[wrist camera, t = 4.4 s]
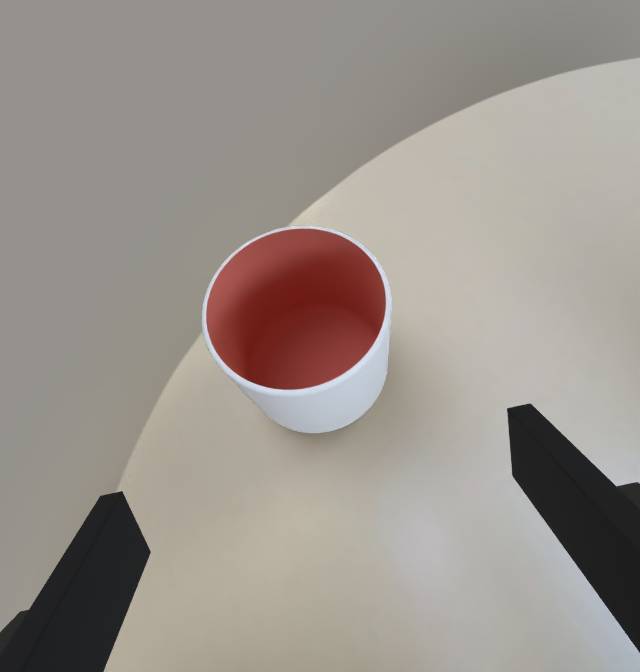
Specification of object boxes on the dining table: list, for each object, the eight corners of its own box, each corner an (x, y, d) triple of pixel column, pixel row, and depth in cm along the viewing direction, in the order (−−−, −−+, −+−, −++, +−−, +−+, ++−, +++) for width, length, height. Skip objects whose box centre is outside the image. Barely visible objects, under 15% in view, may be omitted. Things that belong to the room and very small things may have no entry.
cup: (245, 438, 30) (189, 399, 21) (254, 310, 34) (210, 231, 25) (391, 435, 29) (399, 392, 20) (382, 303, 33) (385, 217, 24)
